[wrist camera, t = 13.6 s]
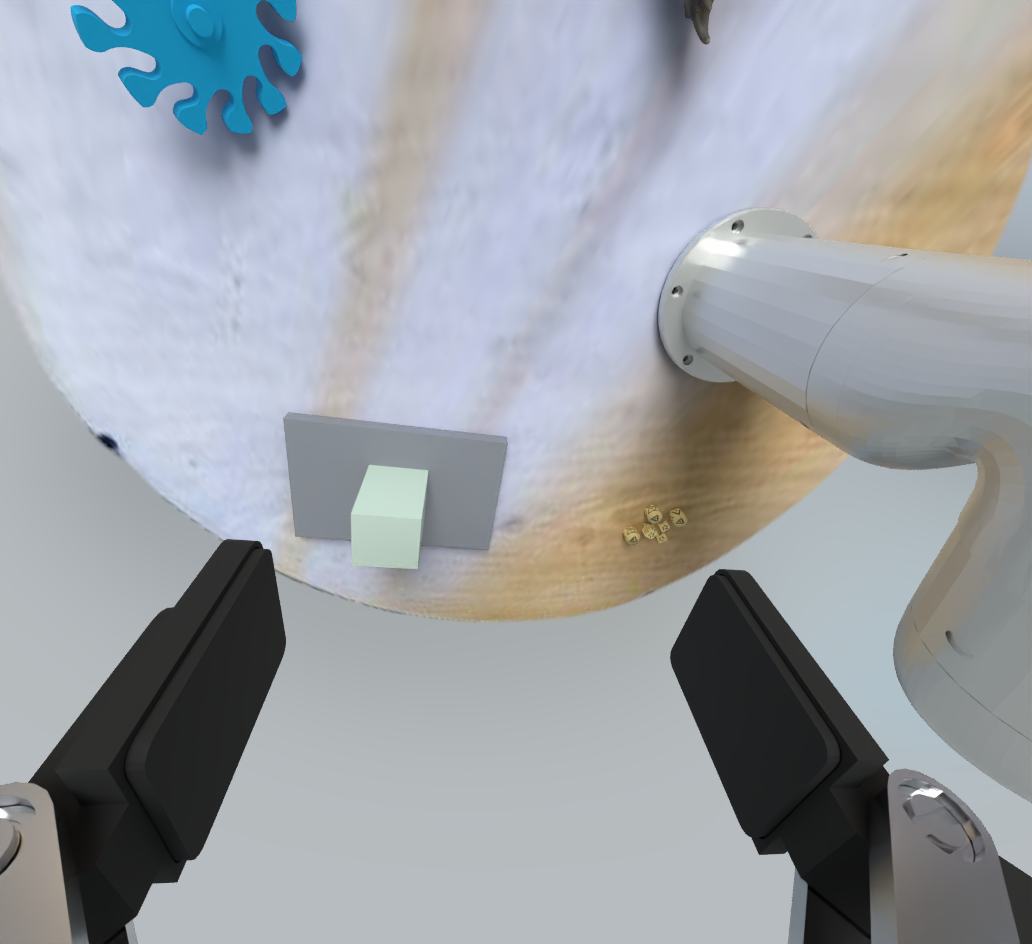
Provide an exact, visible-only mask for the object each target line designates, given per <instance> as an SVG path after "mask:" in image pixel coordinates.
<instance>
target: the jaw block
mask: <svg viewBox="0 0 1032 944" xmlns="http://www.w3.org/2000/svg"><path fill="white" fill-rule="evenodd" d="M427 482H428V470H419V469H409V468H398V467H388V466H377V465H369V466H368V469H367V472H366V474H365V477H364V480H363V483H362V485H361V488H360V491H359V493H358V496H357V499H356V501H355V504H354V507H353V509H352V512H351V543H352V566H370V567H387V568H404V569H418V563H419V555H420V548H421V540H422V533H423V525H424V518H425V507H426V494H427Z"/></svg>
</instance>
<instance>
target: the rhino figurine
mask: <svg viewBox="0 0 1032 944" xmlns="http://www.w3.org/2000/svg"><path fill="white" fill-rule="evenodd" d="M713 1H714V0H685V4H684V8H685V17H686V18H691V20H692V21H693V24H694V27H695V29H696V32H697V34H698V36H699V38H700V40H701V41H702V43H704V44H708V43H709V42H710V37H709V35H708V21H709V14H710V11H711V9H712V3H713Z"/></svg>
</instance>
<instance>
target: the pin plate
mask: <svg viewBox="0 0 1032 944" xmlns="http://www.w3.org/2000/svg"><path fill="white" fill-rule="evenodd" d="M283 420H284V430H285V439H286V449H287V459H288V469H289V479H290V488H291V498H292V508H293V518H294V527H295V537H309V538H324V539H339V540H351V512H352V509H353V507H354V504H355V501H356V499H357V496H358V493H359V491H360V488H361V485H362V483H363V480H364V477H365V474H366V472H367V469H368V466H369V465H377V466H388V467H398V468H409V469H419V470H428V482H427V494H426V507H425V518H424V525H423V533H422V540H421V545H427V546H441V547H456V548H471V549H485V550H488V548H489V542H490V537H491V531H492V526H493V520H494V515H495V510H496V504H497V499H498V493H499V488H500V482H501V477H502V471H503V466H504V460H505V455H506V449H507V444H508V443H507V437H502V436H493V435H484V434H475V433H466V432H457V431H448V430H439V429H431V428H422V427H413V426H404V425H395V424H386V423H377V422H368V421H359V420H351V419H342V418H333V417H324V416H315V415H306V414H297V413H288V414H287V415H286V416H285V417H284V419H283Z"/></svg>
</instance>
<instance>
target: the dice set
mask: <svg viewBox="0 0 1032 944" xmlns="http://www.w3.org/2000/svg"><path fill="white" fill-rule="evenodd" d="M644 514H645V515H646V517H647V519H648V521H649V522H650V523H644V525H643V527H642V529H641V530H642V532H643V533H644V535H645V536H646V537H647V538H649V539H651V540H652V539H653V538H654V537H655V536H656V538H657V541H658V543H662V542H664V541H667V537H666V534H665V533H664V531H666V530H668V529H670V526H669V524H668V523H667V521H666V520H665V521H663V522H661V523H660V524H658V523H659V522H660V521H662V518H663V515H662V513H661V512H660V510H659V508H658V507H657V506H656V505H649V506H648V507H646V508H645V511H644ZM668 516H669V518H670V519H671V521H672V522H673V524H674V525H675V527H682V526H684V525H686V523H687V521H688V519H687V518H686V516H685V515H684V513H683V512H682V511H681V509H679V508H675V509H673V510H671V511H670V512H669V515H668ZM654 524H658V527H659V528H660V530H661V531H662V533H660V534H658V532H657V531H656V529H655V527H654ZM623 536H624V538H625V540H626V542H627V543H628V544H629V545H636V544H637V543H638V542H640V535H639V533H638V531H637V529H636V528H634V527H633V526H629V527H627V528H625V529H624V530H623Z"/></svg>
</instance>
